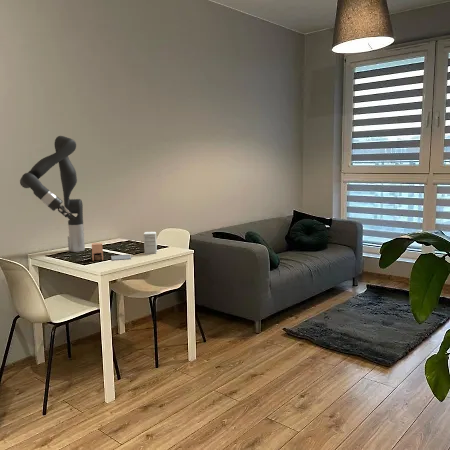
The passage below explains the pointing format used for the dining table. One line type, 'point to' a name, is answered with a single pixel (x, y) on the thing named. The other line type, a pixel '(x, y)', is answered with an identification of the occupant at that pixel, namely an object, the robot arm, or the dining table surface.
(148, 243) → the supplement box
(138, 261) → the dining table surface
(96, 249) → the terracotta cover
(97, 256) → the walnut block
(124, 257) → the grey mat
